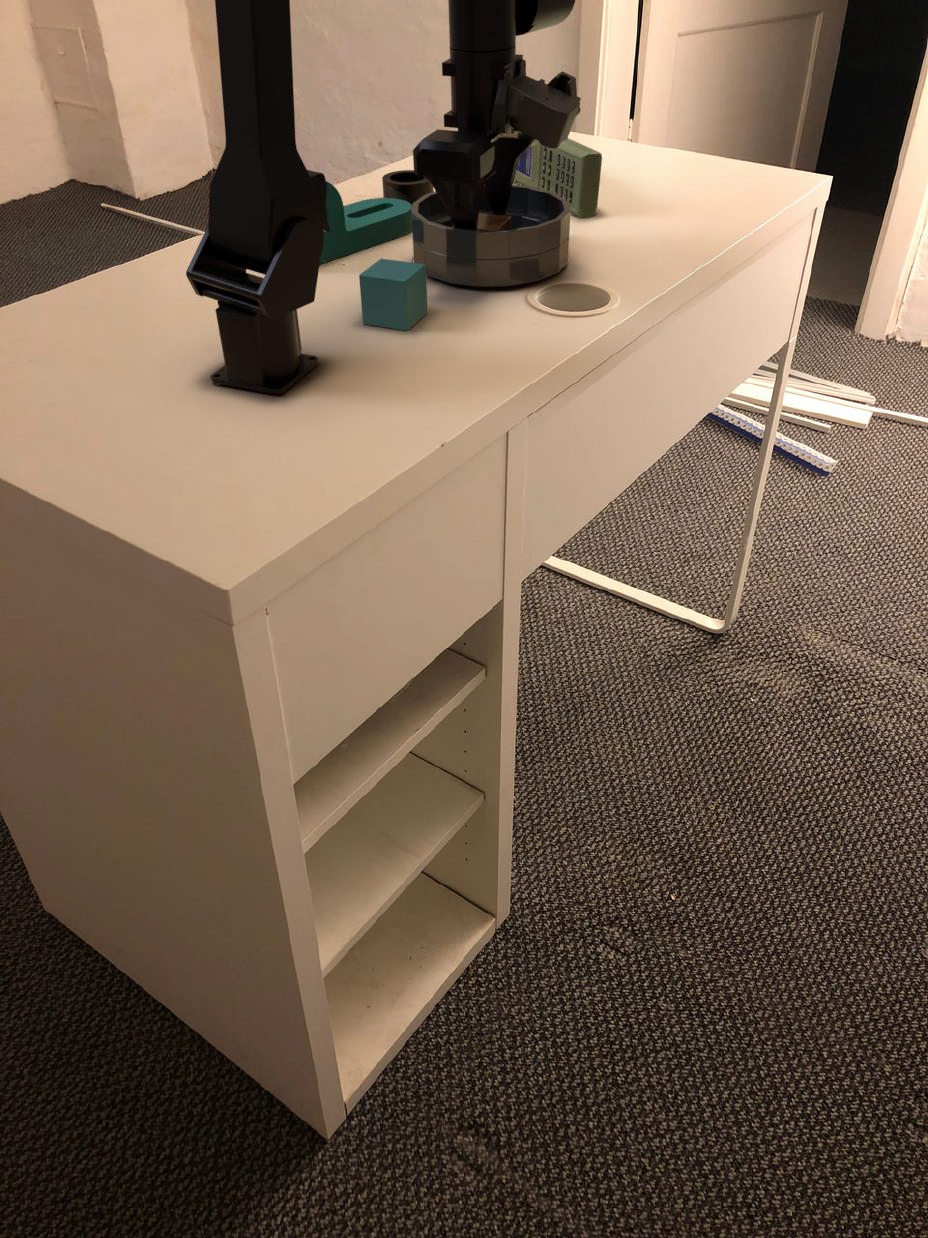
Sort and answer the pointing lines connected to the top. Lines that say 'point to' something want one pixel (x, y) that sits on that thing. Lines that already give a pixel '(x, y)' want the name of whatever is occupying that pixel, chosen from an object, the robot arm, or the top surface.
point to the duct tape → (405, 186)
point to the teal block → (393, 294)
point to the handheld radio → (563, 173)
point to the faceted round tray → (494, 240)
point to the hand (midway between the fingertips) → (484, 229)
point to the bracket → (362, 223)
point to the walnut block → (493, 222)
